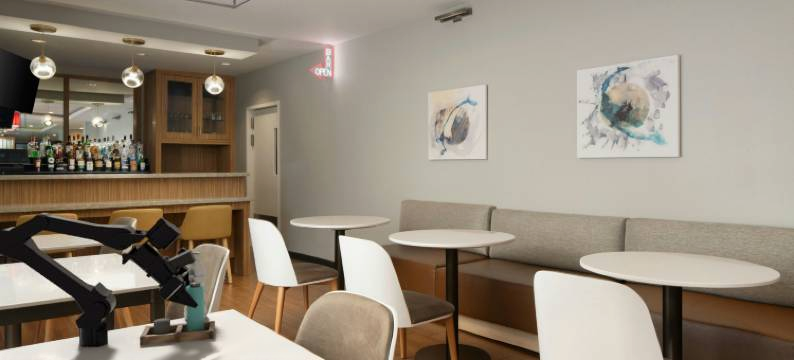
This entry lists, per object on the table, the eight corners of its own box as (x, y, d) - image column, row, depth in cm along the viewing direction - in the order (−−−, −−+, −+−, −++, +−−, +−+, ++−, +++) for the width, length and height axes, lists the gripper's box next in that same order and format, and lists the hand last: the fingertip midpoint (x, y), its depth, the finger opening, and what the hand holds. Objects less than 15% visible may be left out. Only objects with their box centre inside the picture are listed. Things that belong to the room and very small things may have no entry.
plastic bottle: (192, 326, 160) (191, 256, 159) (179, 321, 164) (178, 253, 163) (212, 320, 165) (211, 253, 164) (198, 316, 169) (197, 250, 168)
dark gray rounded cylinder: (150, 338, 146) (150, 321, 145) (163, 334, 149) (163, 317, 149) (161, 340, 144) (160, 323, 144) (173, 336, 147) (173, 319, 147)
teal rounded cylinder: (183, 336, 148) (182, 284, 147) (195, 331, 152) (194, 280, 151) (195, 338, 146) (195, 286, 145) (207, 333, 150) (207, 282, 149)
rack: (140, 349, 141) (139, 337, 141) (145, 337, 150) (145, 326, 150) (213, 342, 146) (213, 331, 145) (215, 331, 155) (214, 320, 154)
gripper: (172, 245, 137) (219, 287, 141) (179, 235, 155) (221, 272, 159) (137, 279, 136) (186, 320, 139) (148, 264, 153) (192, 301, 157)
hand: (198, 302), depth 149 cm, fingers open, 9 cm apart
